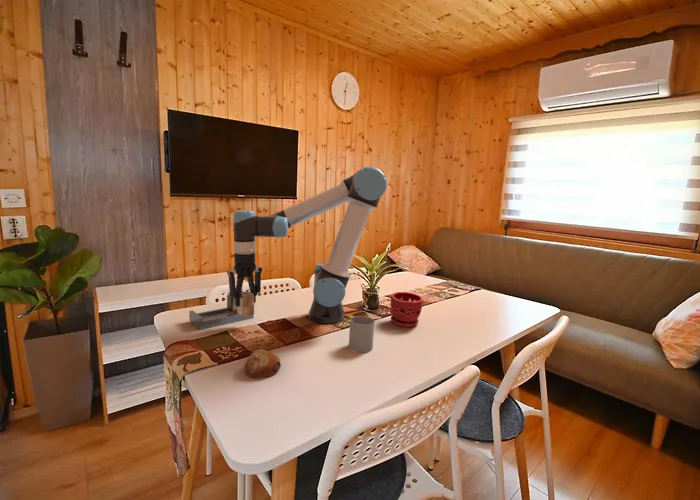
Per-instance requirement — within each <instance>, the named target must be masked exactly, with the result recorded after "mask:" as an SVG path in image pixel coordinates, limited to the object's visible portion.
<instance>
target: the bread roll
mask: <svg viewBox="0 0 700 500" xmlns="http://www.w3.org/2000/svg"><path fill="white" fill-rule="evenodd" d="M281 366H282V364H281V359H280V357H279V356H278V355H276V354H275V353H273V352H272V351H268V350H265V349H257V350H255V351H253V352H251V354H249V356H248V357H247V358H246V361H245V363H244V373H245V374H246V376H248V377H250V378H251V379H262V378H263V379H264V378H269V377H270V378H271V377H273V376H275V375H276V374H277V373H278V372H279V370H280V368H281Z"/></svg>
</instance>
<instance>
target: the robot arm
mask: <svg viewBox="0 0 700 500" xmlns="http://www.w3.org/2000/svg"><path fill="white" fill-rule="evenodd" d="M387 185H388V181H387V177H386V176H385V173H384V172H383V171H382V170H381V169H379V168H378V167H374V166H365V167H362V168H361V169H359V170H358V171H356V172H354V174H352V175H351V176H349V177H347V178H346V179H343V180H342V181H341V183H340V184H338V185H335V186H334V187H331V188H329V189H326V190H325V191H322V192H320V193H318V194H316V195H313V196H311V197H308V198H307V199H305V200H301V201H299V202H298V203H296V204H294V205H291V206H289V207H287V208H284V209H282V210H281V211H278V212H276V213H273V214H271V215H269V216H258V215H256V213H255V211H254V210H249V209H248V210H246V209H240V210H235V211H234V212H233V223H232V225H233V251H234V254H233V255H234V257H233V259H234V261H233V262H234V266H233V269H231V270H227V271H226V274H227V276H228V285H229V287H228V288H229V293H230V296H231V297H233V298H235V305H236V306H237V312H238V314H239V315H243V300H242V298H241V292H243V291H242V289H243V285H244V284H243V283H244V281H245V278H246V279H247V283H248V289H249V292H250V293H253V294H254V304H256V300H257V298H256V297H257V295H258V294H260V293H261V292H262V291H261V289H262V288H261V285H262V283H261V282H262V281H261V280H262V276H261V275H262V272H263V267H260V266H257V265H256V253H255V252H256V237H259V238H261V237H263V238H264V237H265V238H266V237H267V238H285V237H287V236H288V233H289V229H290V228H292V227H294V226H296V225H299V224H301V223H303V222H306V221H308V220H311V219H312V218H315V217H316V216H320V215H321V214H323V213H325V212H328V211H331V210H333V209H334V208H337V207H340V206H342V205H343V204H346V203H348V206H347V208H346V211H345V212H344V216H343V218H342V222H341V225H340V227H339V229H338V232H337V235H336V238H335V240H334V242H333V246H332V248H331V252H330V253H329V256H328V259H327V261H326V263H319V264H317V263H316V265H314V270H313V271H314V277H313V278H314V280H313V282H314V283H313V290H312V293H313V298H312V299H313V300H312V303H311V306H310V309H309V311H308V318H309V319H310V320H311V321H313V322H316V323H320V324H335V323H339V322H341V321H344V319H345V311H344V307H343V303H342V302H343V300H344V298H345V296H346V288H347V285H348V283H349V280H350V277H351V274H350V272H349V270H350V267H351V264H352V260H353V259H354V257H355V253H356V251H357V249H358V246H359V243H360V240H361V238H362V235H363V232H364V230H365V227H366V225H367V222H368V220H369V217H370V214H371V212H372V211H374V210H376V209H377V208H378V204H379V203H380V200H381V198H382V196H384V194H385V192H386V190H387Z"/></svg>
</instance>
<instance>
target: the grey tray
mask: <svg viewBox="0 0 700 500" xmlns="http://www.w3.org/2000/svg"><path fill="white" fill-rule="evenodd" d="M188 312H189V315H188V316H189V323H190V324H192V326H194V327H195V328H196V329H198V330H199V331H202V330H206V329H210V328H215V327H220V326H224V325H228V324H233V323H238V322H241V321H246V320H251V319H254V315H255V313H254V314H253V315H249V316H245V317H244V316H242V315H239V314H238V312H237V306H236V305H235V298H233V297H231V296H230V292H229V293H228V294H226V307H222V308H219V309H218V308H217V309H212V310H207V311H201V312H198V313H197V312H196V311H194V310H189V311H188Z"/></svg>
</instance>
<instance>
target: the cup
mask: <svg viewBox="0 0 700 500" xmlns="http://www.w3.org/2000/svg"><path fill="white" fill-rule="evenodd" d="M348 335H349V336H348V348H349V350H350V351H352V352H355V353H362V354H365V353H369V352H372V350H373V349H374V335H375V320H374V318H372V317H370V316H366V315H365V316H364V315H357V316H352V317H351V318H350V319H349V334H348Z"/></svg>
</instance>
